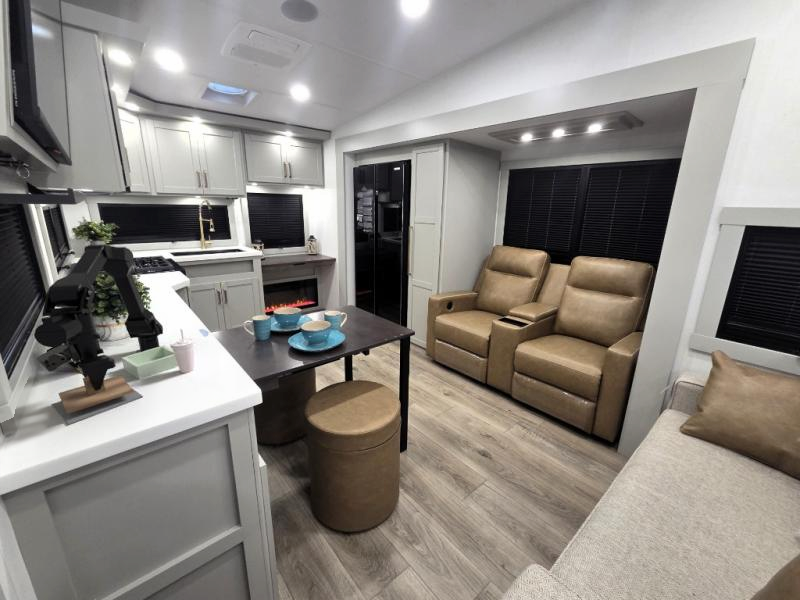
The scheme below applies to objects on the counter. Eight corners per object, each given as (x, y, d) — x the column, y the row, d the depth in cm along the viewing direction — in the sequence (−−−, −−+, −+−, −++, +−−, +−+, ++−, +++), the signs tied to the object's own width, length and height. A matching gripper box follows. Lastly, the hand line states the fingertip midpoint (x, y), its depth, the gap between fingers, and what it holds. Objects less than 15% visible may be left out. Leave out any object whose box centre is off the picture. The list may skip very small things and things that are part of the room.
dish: (124, 370, 108) (121, 357, 107) (166, 357, 118) (163, 345, 117) (139, 380, 102) (136, 367, 100) (182, 365, 111) (180, 353, 110)
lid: (59, 395, 89) (54, 379, 88) (121, 377, 98) (117, 362, 97) (67, 414, 81) (61, 396, 79) (133, 392, 90) (129, 375, 89)
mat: (52, 405, 88) (51, 404, 88) (122, 382, 100) (121, 380, 100) (68, 425, 80) (68, 423, 80) (143, 397, 92) (142, 395, 92)
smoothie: (188, 376, 104) (180, 333, 100) (170, 374, 105) (162, 331, 101) (203, 366, 110) (196, 326, 106) (186, 365, 111) (179, 324, 107)
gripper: (26, 334, 84) (43, 390, 88) (45, 351, 74) (63, 414, 78) (84, 322, 93) (98, 374, 97) (109, 336, 82) (122, 393, 86)
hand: (95, 387), depth 89 cm, fingers closed on lid, 4 cm apart
